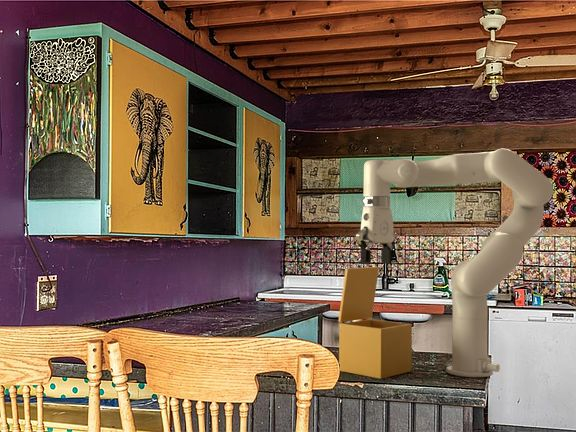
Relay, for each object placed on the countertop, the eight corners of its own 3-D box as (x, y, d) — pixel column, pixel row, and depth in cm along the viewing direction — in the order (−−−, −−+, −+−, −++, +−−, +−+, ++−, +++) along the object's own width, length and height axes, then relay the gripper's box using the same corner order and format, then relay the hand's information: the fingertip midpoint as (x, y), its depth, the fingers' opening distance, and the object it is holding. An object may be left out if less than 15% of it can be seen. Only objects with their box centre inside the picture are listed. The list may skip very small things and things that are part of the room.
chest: (411, 371, 194) (412, 324, 194) (380, 378, 183) (381, 329, 183) (370, 363, 204) (370, 319, 204) (338, 370, 193) (339, 323, 194)
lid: (379, 267, 202) (365, 263, 206) (347, 268, 192) (334, 265, 195) (371, 318, 204) (358, 313, 207) (340, 322, 193) (327, 317, 197)
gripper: (368, 202, 186) (368, 265, 185) (405, 204, 198) (404, 263, 198) (347, 202, 191) (346, 264, 191) (384, 205, 203) (383, 262, 203)
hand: (376, 263), depth 194 cm, fingers open, 9 cm apart
